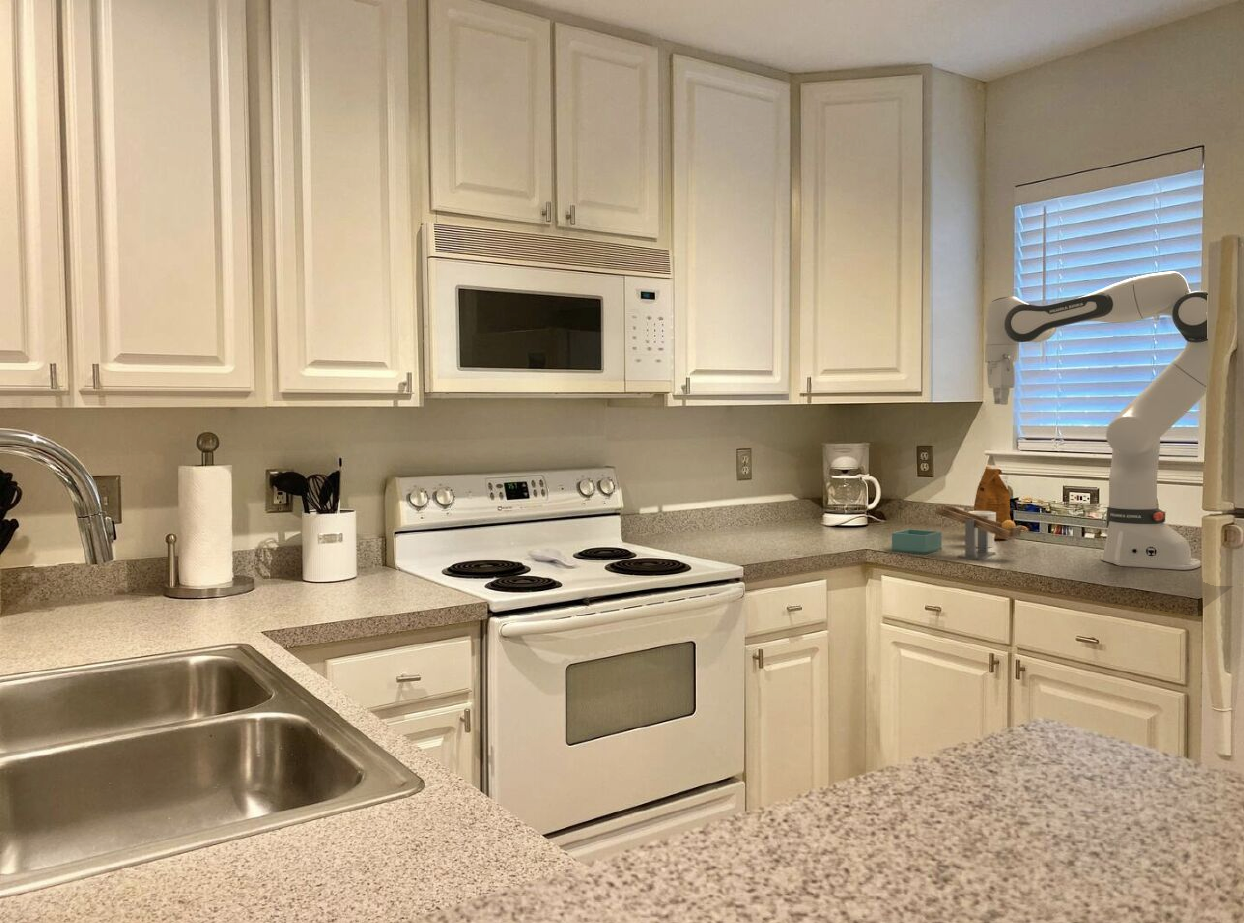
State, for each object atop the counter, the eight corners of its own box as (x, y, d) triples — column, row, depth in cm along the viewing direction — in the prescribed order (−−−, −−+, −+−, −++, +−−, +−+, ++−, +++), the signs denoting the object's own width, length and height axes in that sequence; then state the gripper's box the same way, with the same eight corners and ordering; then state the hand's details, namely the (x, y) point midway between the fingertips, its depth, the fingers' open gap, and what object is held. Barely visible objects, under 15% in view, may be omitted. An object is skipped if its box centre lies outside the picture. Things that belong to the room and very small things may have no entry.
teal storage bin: (941, 549, 274) (941, 531, 273) (925, 554, 266) (925, 535, 266) (908, 546, 281) (908, 528, 280) (892, 550, 273) (891, 532, 273)
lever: (1028, 535, 261) (1031, 523, 260) (1010, 540, 252) (1013, 528, 251) (953, 509, 275) (956, 498, 274) (933, 514, 266) (937, 502, 265)
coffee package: (1002, 535, 299) (1002, 465, 298) (1013, 541, 287) (1013, 468, 286) (969, 535, 301) (969, 466, 299) (979, 541, 288) (979, 469, 287)
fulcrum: (995, 554, 263) (995, 516, 263) (979, 559, 255) (979, 520, 255) (974, 552, 267) (974, 515, 267) (957, 557, 259) (957, 519, 259)
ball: (1016, 533, 255) (1018, 520, 255) (1011, 534, 253) (1013, 522, 252) (1003, 530, 258) (1005, 518, 257) (998, 532, 255) (1000, 519, 255)
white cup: (1000, 548, 275) (1000, 513, 274) (972, 548, 275) (972, 514, 274) (990, 543, 282) (990, 510, 282) (963, 544, 283) (963, 511, 282)
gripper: (1021, 353, 257) (1020, 405, 258) (1006, 356, 277) (1005, 404, 278) (996, 354, 258) (995, 405, 259) (983, 356, 278) (982, 404, 279)
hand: (1000, 404), depth 269 cm, fingers open, 8 cm apart
